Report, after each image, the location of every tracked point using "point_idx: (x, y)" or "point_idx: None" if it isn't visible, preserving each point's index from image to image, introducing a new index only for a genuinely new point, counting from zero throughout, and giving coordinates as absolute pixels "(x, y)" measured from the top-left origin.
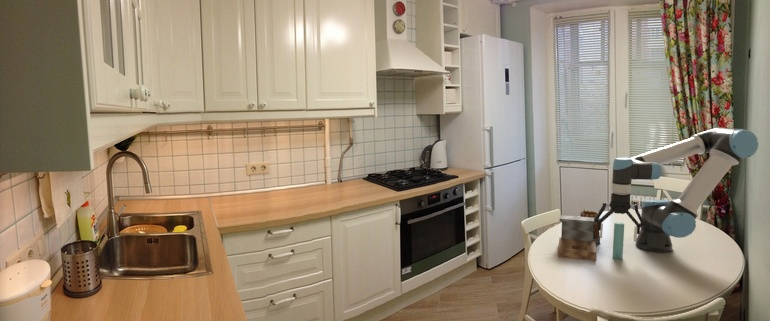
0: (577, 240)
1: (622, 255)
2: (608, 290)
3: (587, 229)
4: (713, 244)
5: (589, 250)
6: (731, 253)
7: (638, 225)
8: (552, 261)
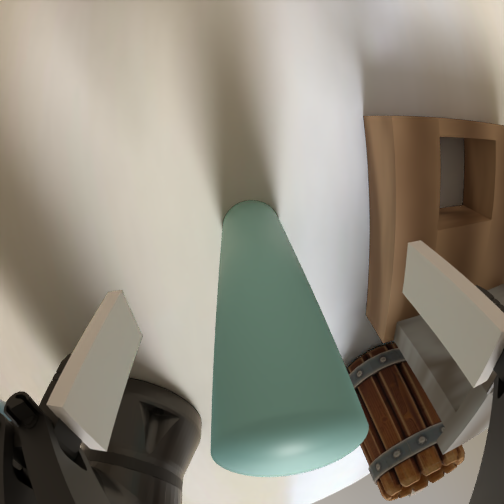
0: None
1: (222, 231)
2: None
3: None
4: None
5: (429, 139)
6: (4, 401)
7: (29, 426)
8: (500, 62)
